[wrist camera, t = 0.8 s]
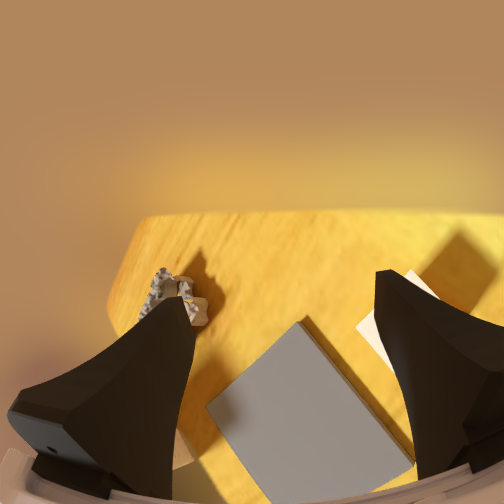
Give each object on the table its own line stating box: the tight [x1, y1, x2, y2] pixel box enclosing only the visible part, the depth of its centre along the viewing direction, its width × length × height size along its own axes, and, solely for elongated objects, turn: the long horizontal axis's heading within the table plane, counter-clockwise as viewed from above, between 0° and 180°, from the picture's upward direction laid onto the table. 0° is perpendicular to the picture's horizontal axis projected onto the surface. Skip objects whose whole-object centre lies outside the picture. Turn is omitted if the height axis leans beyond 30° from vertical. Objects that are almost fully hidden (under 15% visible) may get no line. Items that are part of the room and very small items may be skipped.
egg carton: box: [134, 268, 209, 327], centre depth 34 cm, size 11×8×4 cm
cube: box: [355, 270, 439, 373], centre depth 18 cm, size 5×5×5 cm
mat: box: [205, 321, 415, 504], centre depth 24 cm, size 16×14×1 cm
